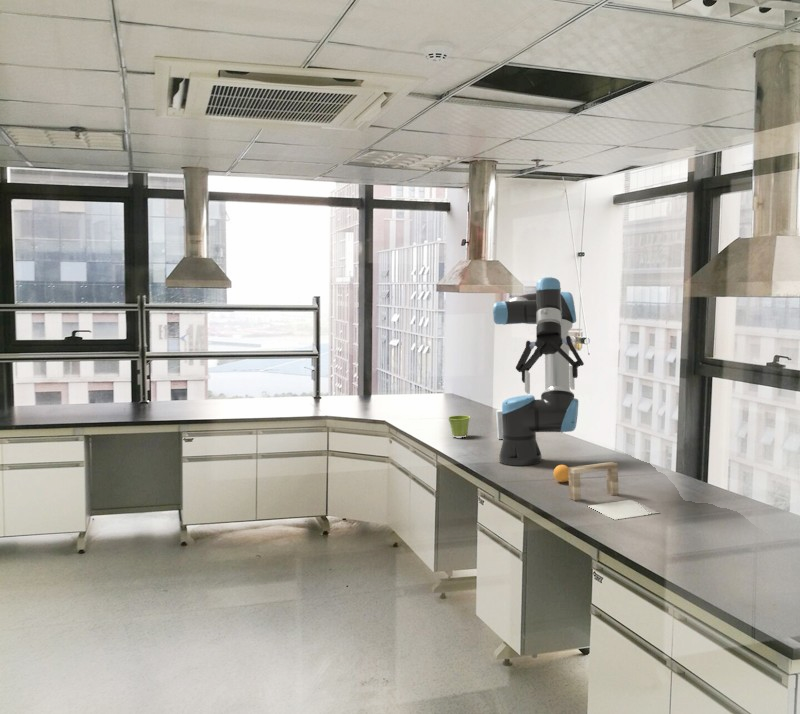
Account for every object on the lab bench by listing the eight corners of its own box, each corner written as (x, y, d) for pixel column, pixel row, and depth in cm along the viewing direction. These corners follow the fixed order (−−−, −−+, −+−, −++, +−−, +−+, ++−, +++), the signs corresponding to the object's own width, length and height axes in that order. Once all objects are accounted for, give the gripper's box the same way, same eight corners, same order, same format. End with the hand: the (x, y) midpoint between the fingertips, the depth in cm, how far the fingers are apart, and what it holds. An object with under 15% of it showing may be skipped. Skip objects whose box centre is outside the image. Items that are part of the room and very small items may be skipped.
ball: (550, 481, 241) (550, 464, 241) (566, 479, 243) (565, 462, 242) (558, 485, 236) (558, 467, 236) (574, 482, 238) (574, 465, 237)
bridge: (569, 498, 221) (568, 467, 220) (613, 492, 225) (612, 461, 224) (574, 500, 218) (573, 469, 217) (618, 494, 222) (617, 463, 221)
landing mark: (587, 506, 212) (587, 505, 212) (630, 500, 216) (630, 499, 216) (614, 520, 198) (614, 519, 198) (660, 513, 202) (660, 512, 202)
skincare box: (511, 437, 315) (510, 409, 314) (513, 439, 311) (512, 410, 310) (496, 438, 315) (495, 409, 314) (498, 440, 311) (497, 411, 310)
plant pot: (469, 439, 316) (468, 419, 315) (447, 439, 318) (446, 419, 317) (472, 435, 325) (471, 415, 324) (451, 435, 327) (450, 415, 326)
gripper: (506, 325, 235) (505, 389, 227) (586, 315, 224) (588, 382, 216) (513, 334, 241) (513, 397, 233) (592, 324, 230) (594, 390, 223)
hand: (549, 390), depth 225 cm, fingers open, 13 cm apart
